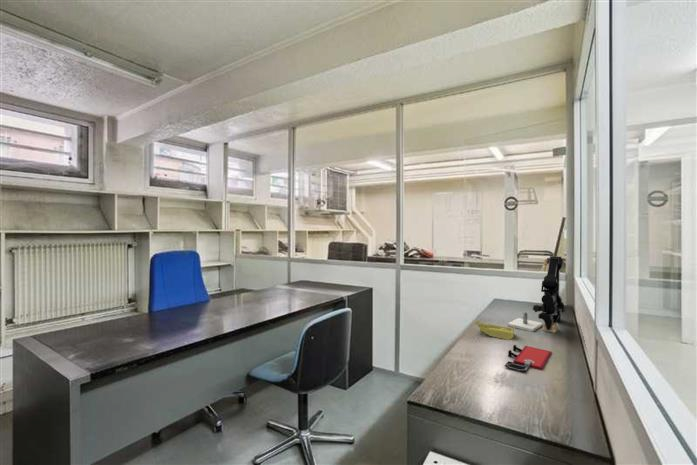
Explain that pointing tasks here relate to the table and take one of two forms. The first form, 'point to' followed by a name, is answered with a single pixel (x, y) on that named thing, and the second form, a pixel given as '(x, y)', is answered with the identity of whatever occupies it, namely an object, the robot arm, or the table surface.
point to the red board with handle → (528, 358)
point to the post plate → (527, 326)
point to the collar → (553, 327)
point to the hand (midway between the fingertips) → (550, 328)
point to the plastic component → (496, 330)
